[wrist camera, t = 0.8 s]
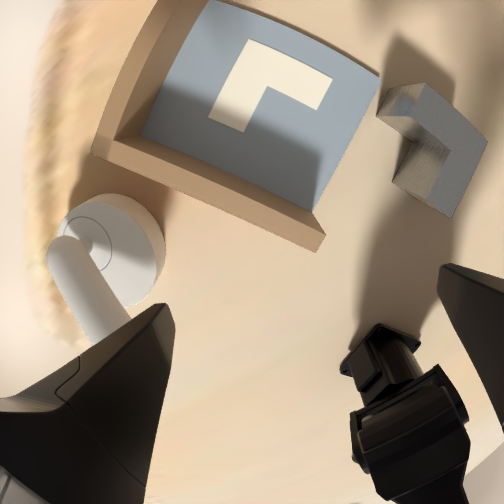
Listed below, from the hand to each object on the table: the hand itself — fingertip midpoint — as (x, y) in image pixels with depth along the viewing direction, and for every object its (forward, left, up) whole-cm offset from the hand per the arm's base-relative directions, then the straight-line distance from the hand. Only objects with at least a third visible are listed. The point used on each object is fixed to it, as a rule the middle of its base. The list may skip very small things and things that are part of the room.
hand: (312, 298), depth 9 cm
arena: (+5, -5, -13) cm, 14 cm away
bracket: (-6, -8, -13) cm, 16 cm away
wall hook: (+9, +9, -13) cm, 18 cm away
